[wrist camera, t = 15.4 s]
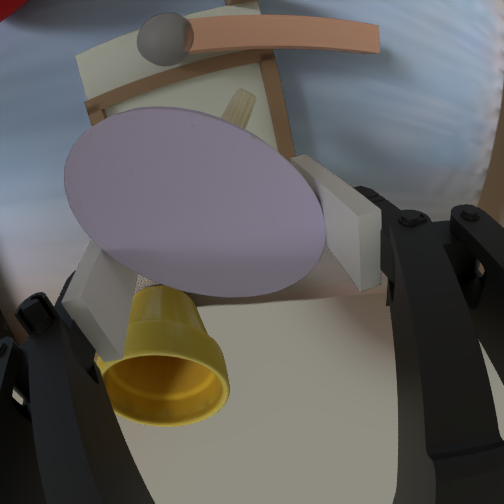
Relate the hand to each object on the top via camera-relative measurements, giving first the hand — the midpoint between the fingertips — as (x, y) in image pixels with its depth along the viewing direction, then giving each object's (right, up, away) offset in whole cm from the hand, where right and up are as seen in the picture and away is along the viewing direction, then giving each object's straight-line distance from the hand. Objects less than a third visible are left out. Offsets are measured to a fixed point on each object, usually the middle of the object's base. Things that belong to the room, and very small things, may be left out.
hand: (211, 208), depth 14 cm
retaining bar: (+2, +11, +2) cm, 12 cm away
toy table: (-1, +2, +1) cm, 3 cm away
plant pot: (-7, -8, +15) cm, 18 cm away
